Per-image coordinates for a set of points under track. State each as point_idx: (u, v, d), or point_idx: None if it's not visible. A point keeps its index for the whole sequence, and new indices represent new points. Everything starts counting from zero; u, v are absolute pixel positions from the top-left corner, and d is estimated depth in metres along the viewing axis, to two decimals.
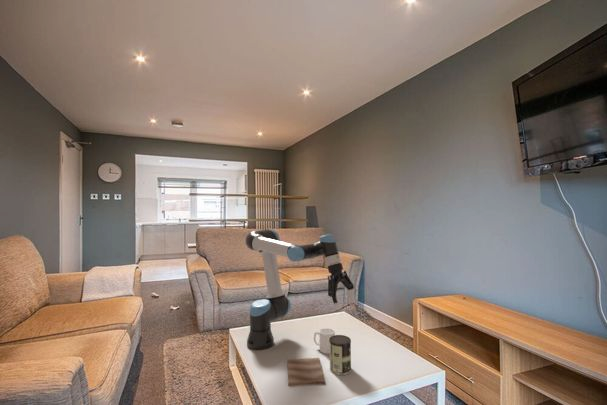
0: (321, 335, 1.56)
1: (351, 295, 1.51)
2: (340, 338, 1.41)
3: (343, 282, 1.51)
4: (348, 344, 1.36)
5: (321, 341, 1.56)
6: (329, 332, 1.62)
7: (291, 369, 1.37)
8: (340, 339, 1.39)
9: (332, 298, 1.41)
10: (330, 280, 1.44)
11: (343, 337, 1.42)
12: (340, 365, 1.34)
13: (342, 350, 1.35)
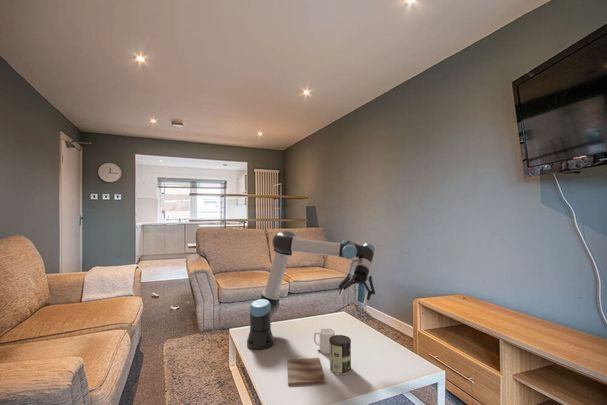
0: (321, 335, 1.56)
1: (343, 295, 1.56)
2: (340, 338, 1.41)
3: (351, 283, 1.59)
4: (348, 344, 1.36)
5: (321, 341, 1.56)
6: (329, 332, 1.62)
7: (291, 369, 1.37)
8: (340, 339, 1.39)
9: (370, 294, 1.49)
10: (371, 281, 1.55)
11: (343, 337, 1.42)
12: (340, 365, 1.34)
13: (342, 350, 1.35)
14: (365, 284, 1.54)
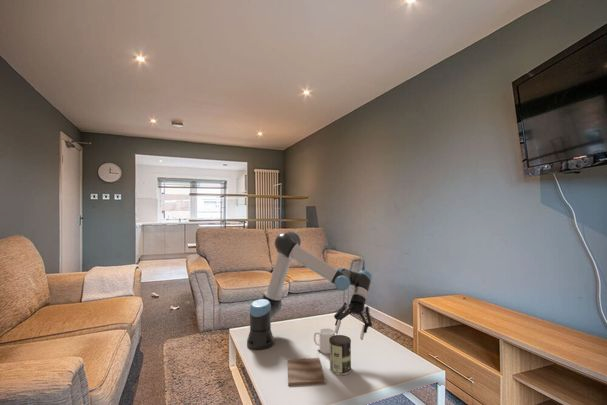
0: (321, 335, 1.56)
1: (339, 326, 1.52)
2: (340, 338, 1.41)
3: (347, 313, 1.54)
4: (348, 344, 1.36)
5: (321, 341, 1.56)
6: (329, 332, 1.62)
7: (291, 369, 1.37)
8: (340, 339, 1.39)
9: (366, 327, 1.44)
10: (368, 312, 1.50)
11: (343, 337, 1.42)
12: (340, 365, 1.34)
13: (342, 350, 1.35)
14: (362, 315, 1.49)
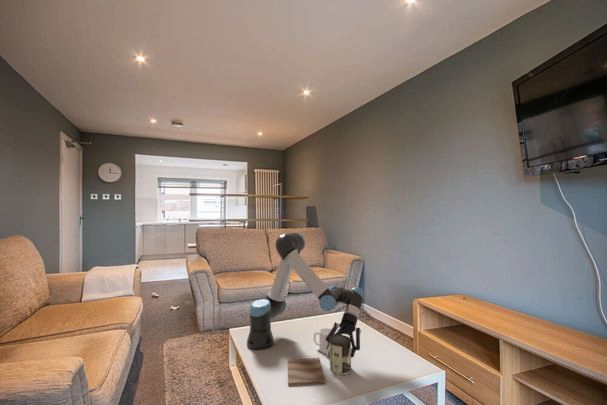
0: (321, 335, 1.56)
1: None
2: (340, 338, 1.41)
3: (339, 334, 1.46)
4: (348, 344, 1.36)
5: (321, 341, 1.56)
6: (329, 332, 1.62)
7: (291, 369, 1.37)
8: (340, 339, 1.39)
9: (354, 351, 1.36)
10: (359, 334, 1.42)
11: (343, 337, 1.42)
12: (340, 365, 1.34)
13: (342, 350, 1.35)
14: (351, 337, 1.41)
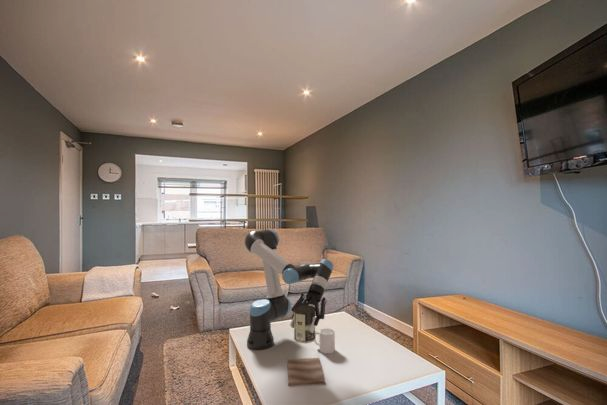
0: (321, 335, 1.56)
1: None
2: (305, 307, 1.39)
3: None
4: (312, 312, 1.34)
5: (321, 341, 1.56)
6: (329, 332, 1.62)
7: (291, 369, 1.37)
8: (304, 308, 1.38)
9: (317, 319, 1.34)
10: (324, 303, 1.40)
11: (308, 307, 1.40)
12: (303, 333, 1.33)
13: (305, 318, 1.33)
14: (316, 306, 1.39)
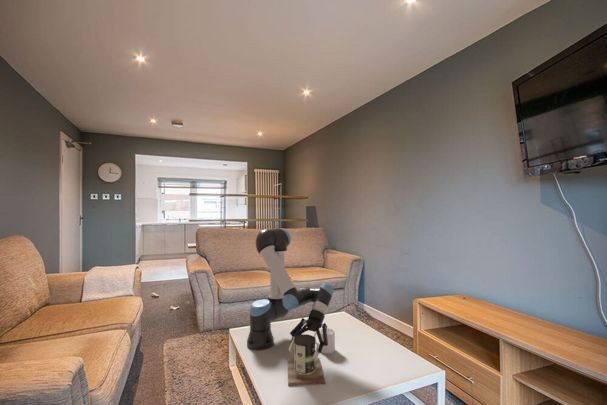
0: (321, 335, 1.56)
1: None
2: (305, 337, 1.39)
3: (304, 330, 1.44)
4: (312, 344, 1.34)
5: None
6: (329, 332, 1.62)
7: (291, 369, 1.37)
8: (304, 339, 1.37)
9: (321, 346, 1.34)
10: (325, 329, 1.40)
11: (308, 337, 1.40)
12: (303, 365, 1.32)
13: (305, 350, 1.32)
14: (318, 333, 1.39)
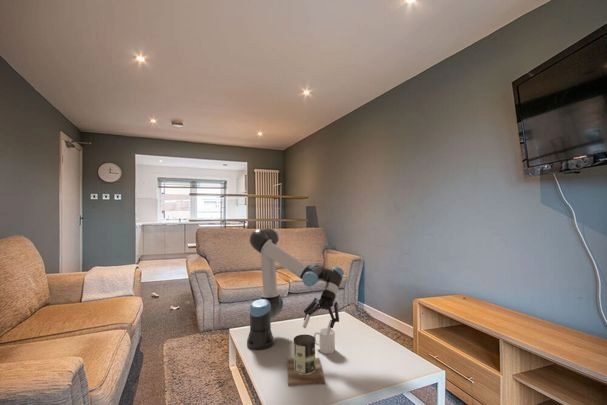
0: (321, 335, 1.56)
1: (307, 321, 1.53)
2: (305, 337, 1.39)
3: (316, 308, 1.55)
4: (312, 344, 1.34)
5: (321, 341, 1.56)
6: None
7: (291, 369, 1.37)
8: (304, 339, 1.37)
9: (333, 322, 1.45)
10: (337, 307, 1.52)
11: (308, 337, 1.40)
12: (303, 365, 1.32)
13: (305, 350, 1.32)
14: (330, 311, 1.50)
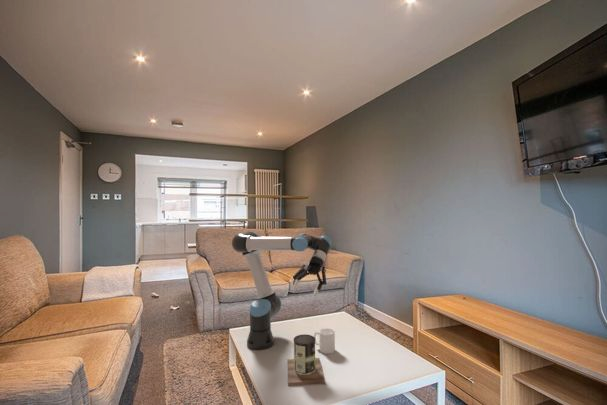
0: (321, 335, 1.56)
1: (296, 285, 1.58)
2: (305, 337, 1.39)
3: (305, 274, 1.61)
4: (312, 344, 1.34)
5: (321, 341, 1.56)
6: (329, 332, 1.62)
7: (291, 369, 1.37)
8: (304, 339, 1.37)
9: (320, 285, 1.51)
10: (324, 272, 1.57)
11: (308, 337, 1.40)
12: (303, 365, 1.32)
13: (305, 350, 1.32)
14: (317, 275, 1.55)
